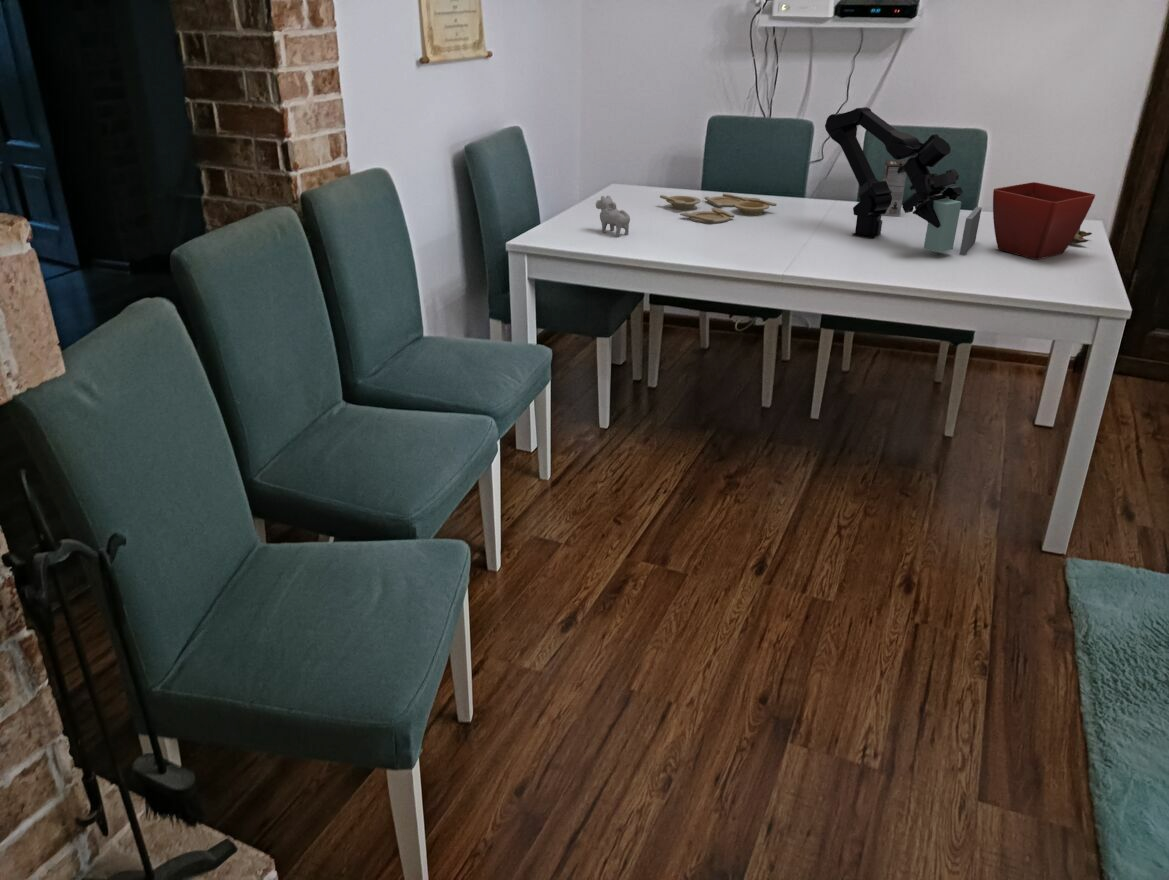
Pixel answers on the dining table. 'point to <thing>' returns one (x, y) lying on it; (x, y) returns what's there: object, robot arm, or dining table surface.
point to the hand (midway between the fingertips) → (946, 225)
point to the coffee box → (894, 186)
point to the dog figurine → (612, 216)
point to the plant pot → (1038, 218)
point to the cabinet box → (943, 226)
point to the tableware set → (716, 215)
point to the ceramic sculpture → (1080, 237)
